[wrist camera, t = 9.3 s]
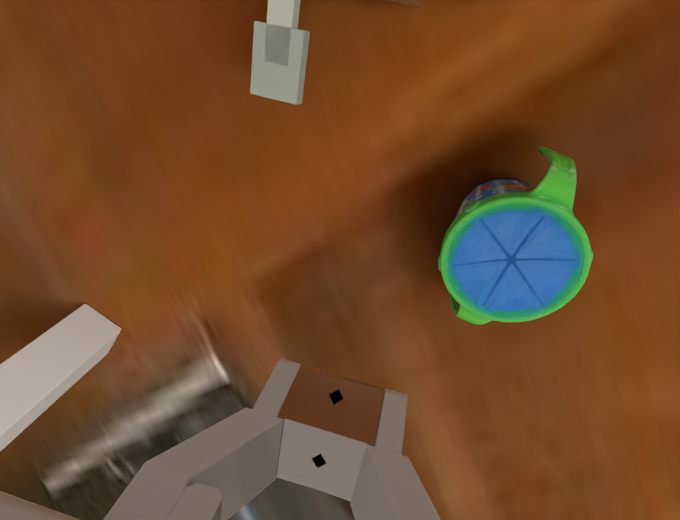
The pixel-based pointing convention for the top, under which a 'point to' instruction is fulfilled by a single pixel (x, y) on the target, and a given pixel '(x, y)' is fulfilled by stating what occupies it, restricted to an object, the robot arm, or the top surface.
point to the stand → (407, 2)
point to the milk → (51, 367)
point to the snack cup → (516, 248)
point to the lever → (280, 53)
